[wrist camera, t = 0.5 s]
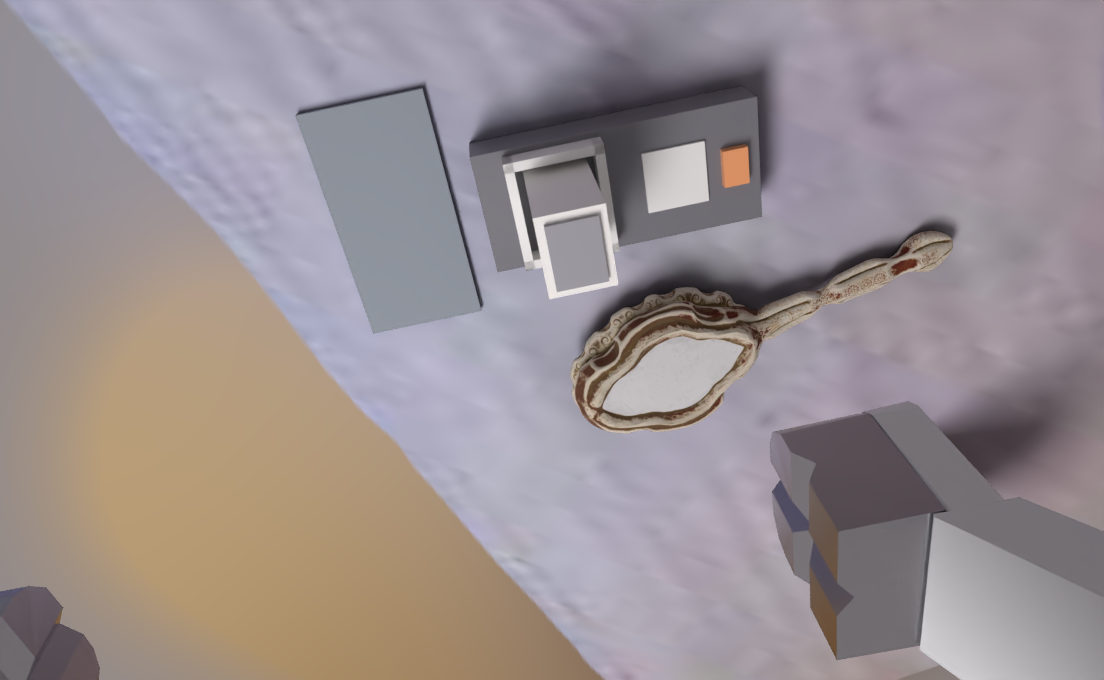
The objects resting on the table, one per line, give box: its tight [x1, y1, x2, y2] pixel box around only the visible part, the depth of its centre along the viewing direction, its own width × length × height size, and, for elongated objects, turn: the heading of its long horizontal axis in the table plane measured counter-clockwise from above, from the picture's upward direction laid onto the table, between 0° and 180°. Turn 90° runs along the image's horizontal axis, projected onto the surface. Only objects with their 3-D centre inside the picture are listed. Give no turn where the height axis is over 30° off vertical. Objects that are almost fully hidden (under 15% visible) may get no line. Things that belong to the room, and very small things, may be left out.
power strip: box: [469, 86, 762, 272], centre depth 50 cm, size 8×18×4 cm, turn 100°
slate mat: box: [296, 87, 481, 334], centre depth 52 cm, size 16×8×1 cm, turn 10°
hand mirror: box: [570, 231, 953, 433], centre depth 57 cm, size 11×6×30 cm
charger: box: [523, 158, 618, 299], centre depth 45 cm, size 5×4×8 cm
